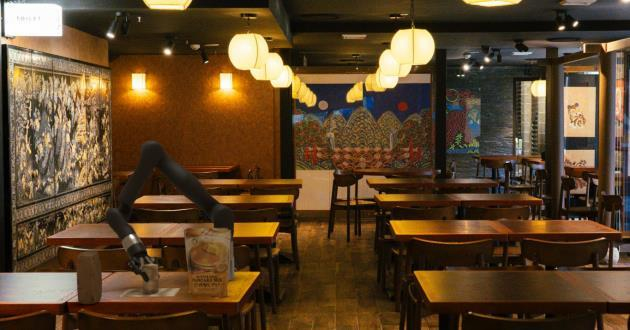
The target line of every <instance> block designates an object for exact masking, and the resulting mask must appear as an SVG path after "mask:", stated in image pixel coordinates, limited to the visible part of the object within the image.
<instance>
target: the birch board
mask: <svg viewBox="0 0 630 330" xmlns="http://www.w3.org/2000/svg"><path fill="white" fill-rule="evenodd" d="M180 290H181V287H178V288H177V287H173V288H172V287H167V288H165V287H164V288H163V287H161V288H160V287H159V292H155V293H150V294H149V293H145V292H143V288H127V289H126V290H125V291H124V292H123V293H122V294H120V296H119V297H120V298H136V297H137V298H139V297H140V298H141V297H142V298H145V297H147V298H149V297H150V298H151V297H152V298H153V297H175V296H176V295H177V293H178V292H179V291H180Z"/></svg>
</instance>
